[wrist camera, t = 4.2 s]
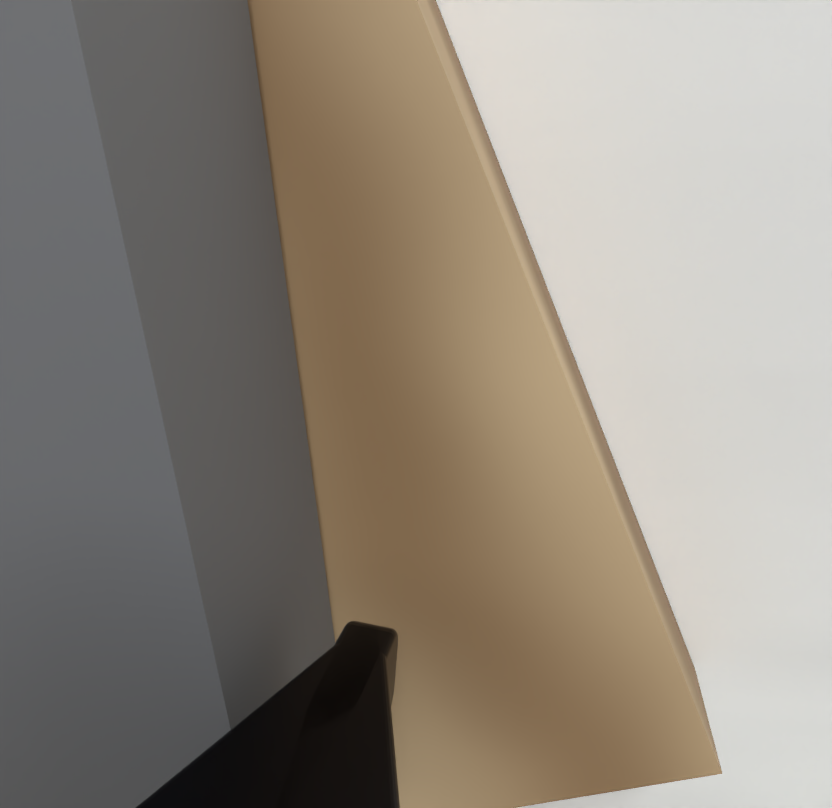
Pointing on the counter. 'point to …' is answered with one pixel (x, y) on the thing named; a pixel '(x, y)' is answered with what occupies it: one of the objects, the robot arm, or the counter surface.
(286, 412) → the folding leg
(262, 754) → the robot arm
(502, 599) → the tan wooden slab
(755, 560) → the counter surface
